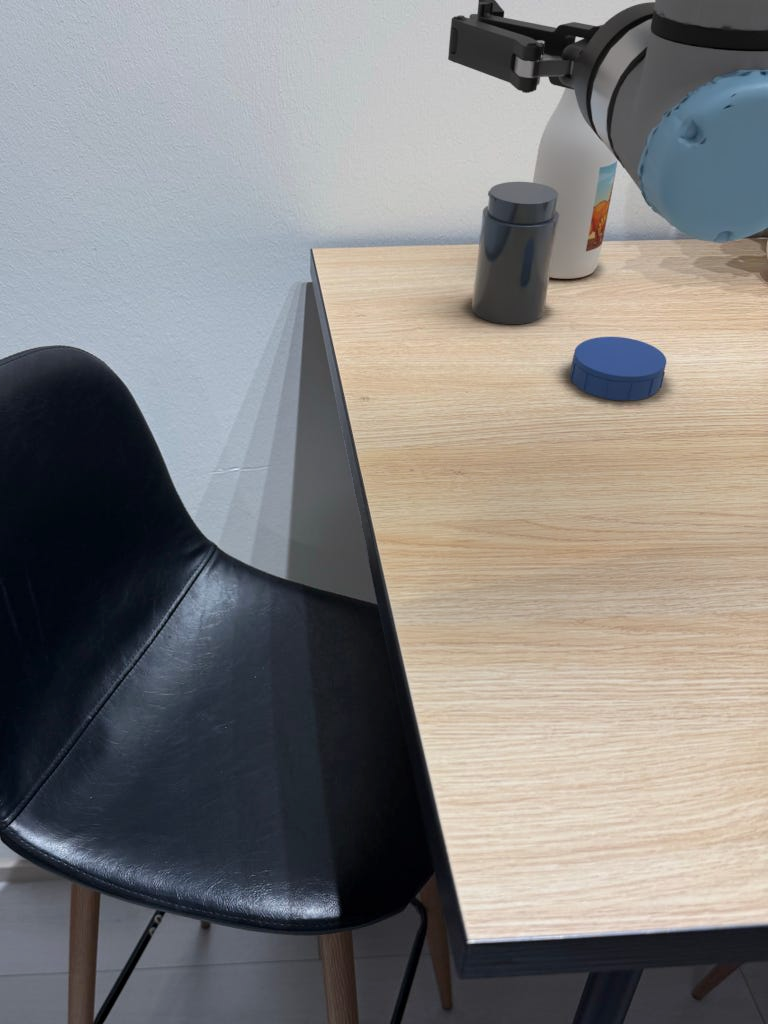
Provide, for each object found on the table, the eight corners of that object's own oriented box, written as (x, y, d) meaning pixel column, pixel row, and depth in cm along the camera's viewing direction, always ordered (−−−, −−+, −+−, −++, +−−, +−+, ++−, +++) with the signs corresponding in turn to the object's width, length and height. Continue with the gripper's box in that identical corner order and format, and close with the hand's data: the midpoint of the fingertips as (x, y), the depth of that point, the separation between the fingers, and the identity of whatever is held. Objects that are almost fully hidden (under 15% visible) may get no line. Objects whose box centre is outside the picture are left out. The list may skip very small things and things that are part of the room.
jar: (522, 291, 102) (539, 176, 95) (556, 319, 98) (577, 200, 90) (459, 300, 101) (472, 184, 94) (491, 328, 96) (506, 208, 89)
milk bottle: (561, 287, 103) (599, 62, 90) (505, 263, 108) (534, 46, 95) (612, 269, 107) (657, 49, 94) (556, 247, 111) (591, 35, 98)
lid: (553, 381, 88) (557, 357, 87) (597, 352, 92) (602, 328, 91) (634, 410, 84) (640, 385, 83) (675, 378, 88) (682, 353, 87)
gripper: (431, 159, 62) (400, 73, 78) (849, 157, 62) (732, 71, 78) (443, 14, 57) (408, -46, 73) (897, 12, 57) (762, -48, 73)
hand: (575, 14), depth 76 cm, fingers open, 13 cm apart
